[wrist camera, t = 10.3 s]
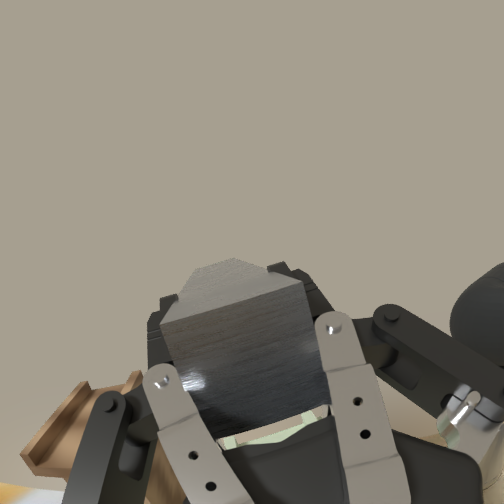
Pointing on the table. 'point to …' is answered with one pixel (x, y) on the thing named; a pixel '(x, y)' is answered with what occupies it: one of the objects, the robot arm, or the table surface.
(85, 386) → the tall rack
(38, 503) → the table surface
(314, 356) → the grey block
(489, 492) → the table surface
